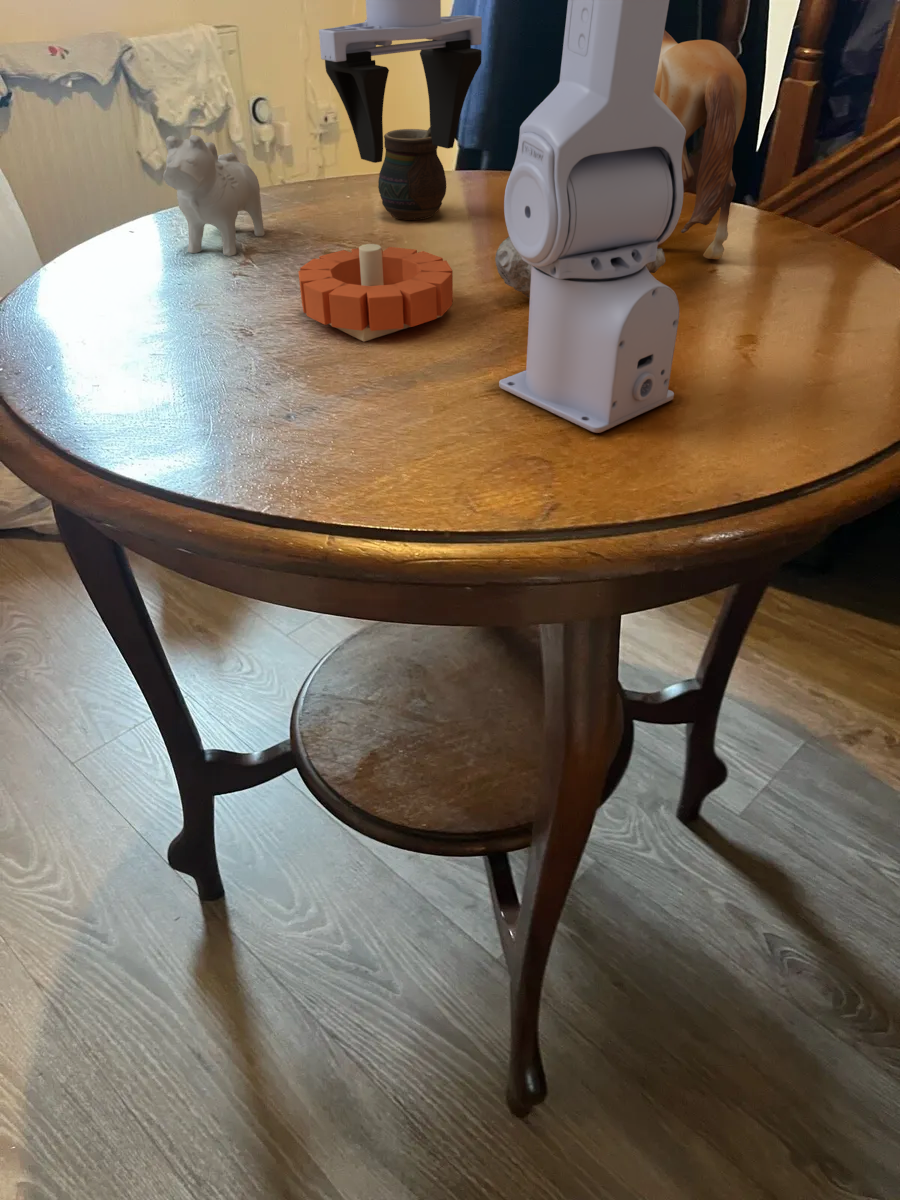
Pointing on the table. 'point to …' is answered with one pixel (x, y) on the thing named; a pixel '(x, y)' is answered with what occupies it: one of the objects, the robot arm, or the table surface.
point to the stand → (370, 277)
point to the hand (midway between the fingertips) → (408, 153)
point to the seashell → (520, 271)
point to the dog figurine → (211, 190)
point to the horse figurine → (705, 122)
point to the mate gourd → (411, 175)
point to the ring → (376, 290)
